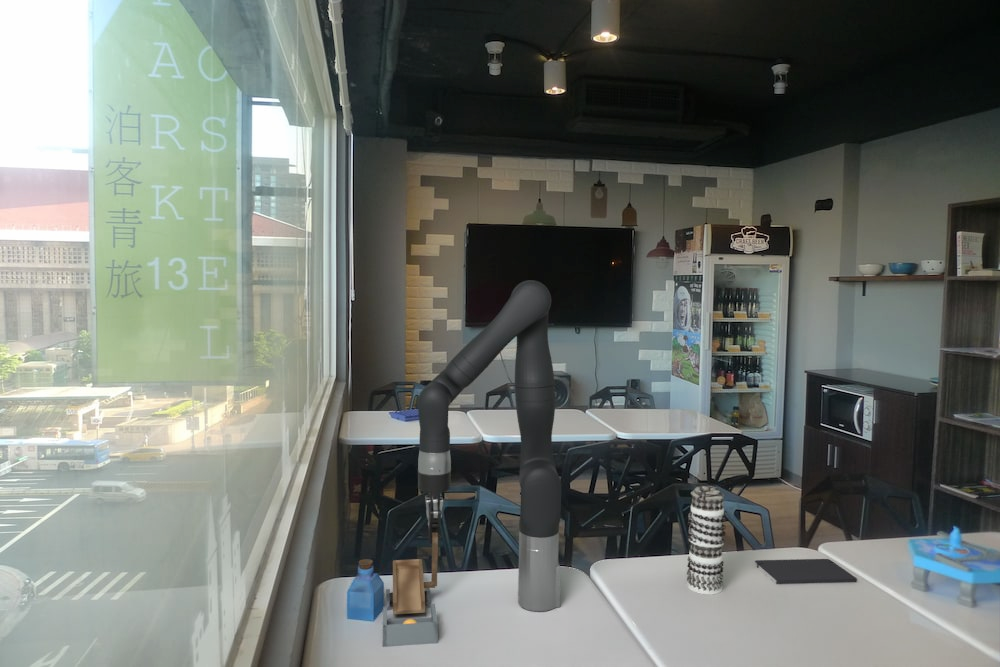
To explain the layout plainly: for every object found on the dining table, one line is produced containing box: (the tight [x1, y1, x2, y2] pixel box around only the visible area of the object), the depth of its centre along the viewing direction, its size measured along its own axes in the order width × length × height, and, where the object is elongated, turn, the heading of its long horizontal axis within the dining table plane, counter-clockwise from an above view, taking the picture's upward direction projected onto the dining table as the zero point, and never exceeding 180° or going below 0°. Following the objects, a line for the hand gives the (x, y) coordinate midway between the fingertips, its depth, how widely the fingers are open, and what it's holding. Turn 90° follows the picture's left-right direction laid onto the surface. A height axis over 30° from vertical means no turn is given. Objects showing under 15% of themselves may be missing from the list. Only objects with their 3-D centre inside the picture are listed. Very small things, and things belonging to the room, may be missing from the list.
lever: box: [392, 532, 439, 615], centre depth 157 cm, size 10×17×14 cm, turn 9°
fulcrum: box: [385, 588, 431, 611], centre depth 159 cm, size 10×5×3 cm, turn 99°
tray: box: [382, 603, 439, 648], centre depth 145 cm, size 11×10×4 cm
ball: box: [403, 618, 417, 624], centre depth 144 cm, size 4×4×4 cm
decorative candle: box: [686, 485, 728, 596], centre depth 169 cm, size 9×9×25 cm
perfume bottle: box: [346, 558, 385, 623], centre depth 154 cm, size 6×6×12 cm
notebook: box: [754, 558, 858, 585], centre depth 180 cm, size 13×2×21 cm
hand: (433, 542), depth 160 cm, fingers closed
